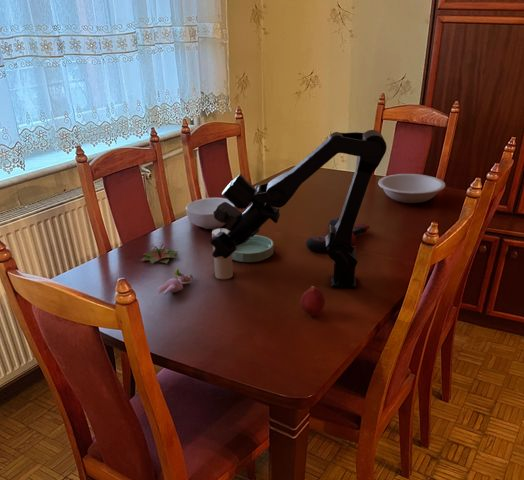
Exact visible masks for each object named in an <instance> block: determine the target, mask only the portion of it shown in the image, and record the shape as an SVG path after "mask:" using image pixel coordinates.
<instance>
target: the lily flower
mask: <svg viewBox="0 0 524 480" xmlns="http://www.w3.org/2000/svg"><path fill="white" fill-rule="evenodd" d="M161 243H162V242H159V245H160V247H158V246H157V245H154V244H153V245H151V247H153V249H152V250H150V251H147V252H145V253H143V255H146V256H144V257H142V258H141V261H150V264H151V265H152V264H154V263H155V262H161V263H164V264H168V262H169V261H170V258H172V259H178V257H177V256H176V254H178V253H179V251H176V250H170V249H169V248H167V246H164V243H162V244H161ZM163 246H164V247H163Z"/></svg>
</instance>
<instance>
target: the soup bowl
mask: <svg viewBox="0 0 524 480" xmlns="http://www.w3.org/2000/svg"><path fill="white" fill-rule="evenodd" d="M377 183H378V186H379V187H380V188H381V189H382V190H383V192H384V193H385V194H386V196H387V197H389V198H390V199H392V200H394V201H396V202H399V203H404V204H405V203H406V204H419V203H424V202H427V201H429V200H432V199H433V198H434V197H436V196H437V195H438V193H439V192H440V191H442V190H444V189H446V183H445V181H443V180H442V179H440V178H438V177H434V176H431V175H426V174H418V173H395V174H390V175H386V176H383V177H381V178H379V180H378V182H377Z"/></svg>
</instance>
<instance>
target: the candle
mask: <svg viewBox="0 0 524 480" xmlns="http://www.w3.org/2000/svg"><path fill="white" fill-rule="evenodd" d="M219 232H225V233H226V234H227V233H228V232H230V230H229V231H228V229H227V228H222V227H220V228H217V229H212V231H211V239H212V238H213V237H214V236H215V235H216V234H218V233H219ZM228 237H230V236H228ZM214 250H215V247H214V246H213V245H212V251H213V252H214ZM213 252H212V253H213ZM213 262H214V276H215V278H216V279H218V280H229V279H231V278H232V277H233V276H234V269H233V259H232V254H231V255H230V256H229V257H227V258H223V256H220V257H216V258H214V257H213Z"/></svg>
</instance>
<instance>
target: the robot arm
mask: <svg viewBox="0 0 524 480" xmlns="http://www.w3.org/2000/svg"><path fill="white" fill-rule="evenodd" d="M386 152H387V143H386V141H385V138H384V137H383V135H382V133H381V132H380V131H378V130H376V129H369V130H367V131H365V132H339V131H334V132H332V133H331V134H330V135H328V137H327V138H326V139H325V140H324V141H323V142H322V143H321V144H319V146H316V147H315V149H313V150H312V151H311V152H310V153H309V154H307V156H305V158H303V159H302V160H301V161H299V162H298V163H297V164H296V165H295V166H294V167H293V168H291V169H290V170H287V171H285V172H282V173H281V174H279V175H277V176H276V177H274V178H273V179H271V180H270V181H269V182H268V183H262V184H257V185H255V186H254V185H253V184H251V183H250V182H249V181H248V180H247V179H246V178H245V176H244V175H243V174H242V173H239V174H238V175H237V176H236V177H235V178H233V179H232V180H230V182H229V183H228V184H227V186H226V187H225V188H224V190H223V191H222V192H221V196H223V198H226V199H228V200H229V201H230V202H231V203H232V204H233V205H234V206H236V208H235V207H233V206H232V205H230V204H229V203H227V202H223V203H222V204H220V205H219V206H218V207H217V208H216V210H215V211H214V212H213V213H214V218H215V219H216V220H218V221H219V222H221V223H225V225H226V226H225V229H228V231H229V230H230V232H228V233H227V234H226V233H225V232H219V233H218V234H216V235H215V236H214V237H213V238H212V237H211V238H210V239H209V242H210V244H211V245H212V247H213V246H214V247H215V250H214V252H212V254H211V255H212V257H213V259H214V258H216V257H220V256H223V258H227V257H229V256H230V255H231V254H232V253H233V252H234V251H235V250H236V246H238V245H240V244H243V243H245V242H247V241H248V240H249V238H250V237H251V238H252V237H253V236H254V235H258V233H259V232H260V229H261V228H262V227H263V225H264V224H266V223H267V221H269V220H271V221H272V222H273V223H274V224H277V223H278V221H279V219H280V216H281V214H280V211H281V210H280V209H281V208H283V207H285V205H287V204H288V202H289V201H290V200H291V199H292V197H293V196H294V195H295V193H296V192H297V191H298V189H299V188H300V187H301V185H302V184H303V183H304V182H305V181H307V180H308V179H309V178H310V177H311V176H313V175H314V174H315V173H316V172H317V171H319V170H320V169H321V168H322V167H323V166H325V165H326V164H327V163H328V162H329V161H331V159H333V158H334V157H335V156H336V155H337V154H345V155H350V156H354V157H356V165H355V170H354V172H353V175H352V179H351V183H350V185H349V189H348V191H347V194H346V198H345V200H344V203H343V206H342V210H341V212H340V216H339V217H338V218H339V221H338V222H337V224H336V225H335V226H333V225H330V226H328V231H329V232H328V231H327V234H326V236H324V237H325V240H326V248H327V250H328V251H327V255H328V258H330V259H331V260H332V261H333V275H331V288H334V289H335V288H337V289H338V288H339V289H340V288H341V289H356V288H357V280H356V267H357V265H358V257H357V252H356V248H354V247H353V246H354V245H353V244H351V242H352V232H353V229H354V228H355V224H356V221H357V218H358V215H359V212H360V210H361V206H362V202H363V200H364V198H365V195H366V192H367V189H368V187H369V184H370V181H371V177H372V176H373V173H374V172H375V171H376V169H377V168H378V167H379V165H380V164H381V162H382V161H383V158H384V156H385V155H386ZM240 210H243V211H242V212H241V211H240ZM228 236H230V237H228Z"/></svg>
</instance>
